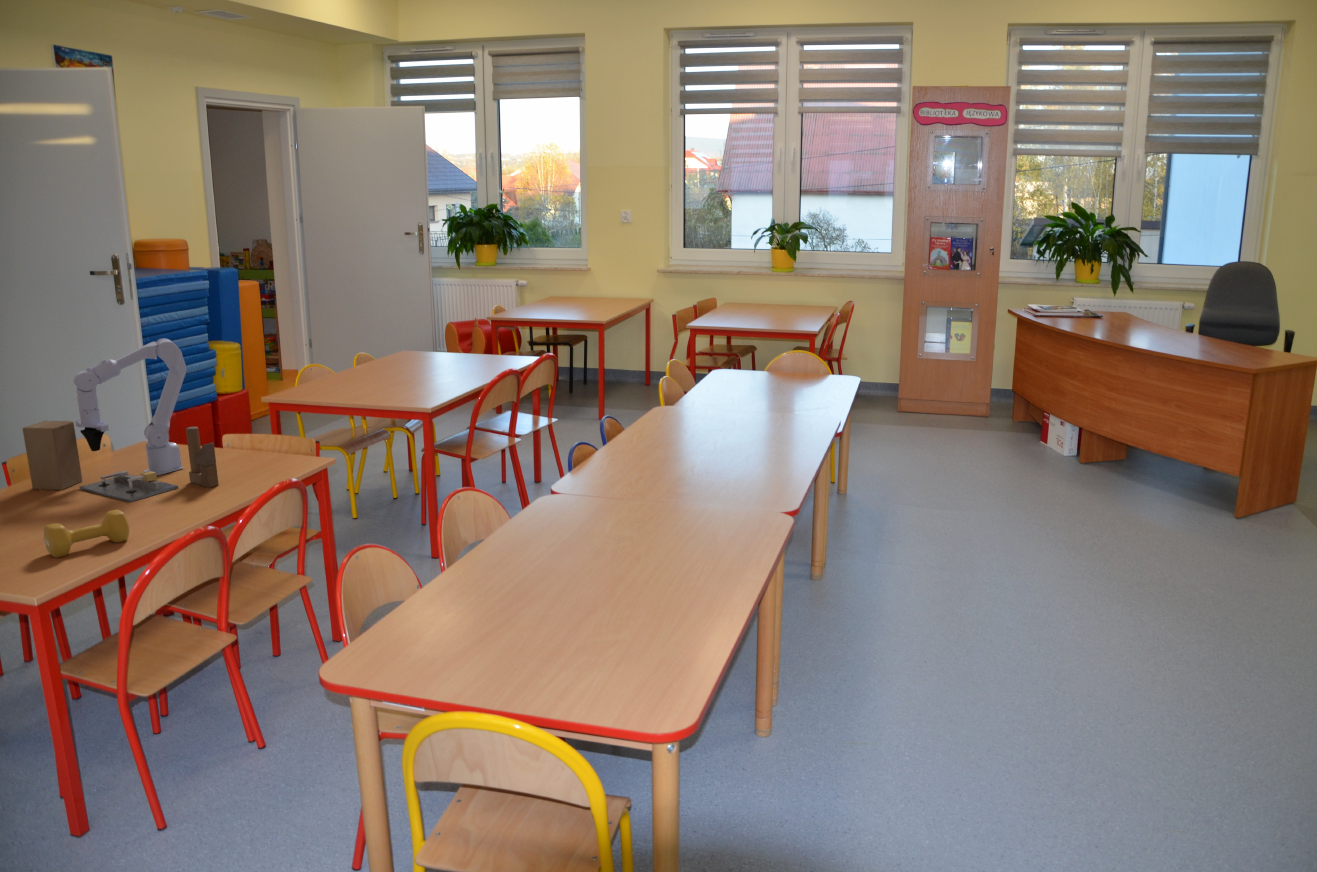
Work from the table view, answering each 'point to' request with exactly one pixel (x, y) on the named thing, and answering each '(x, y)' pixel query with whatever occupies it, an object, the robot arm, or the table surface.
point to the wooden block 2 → (201, 460)
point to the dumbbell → (85, 533)
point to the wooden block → (52, 455)
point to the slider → (143, 478)
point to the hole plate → (127, 487)
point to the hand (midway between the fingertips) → (95, 450)
